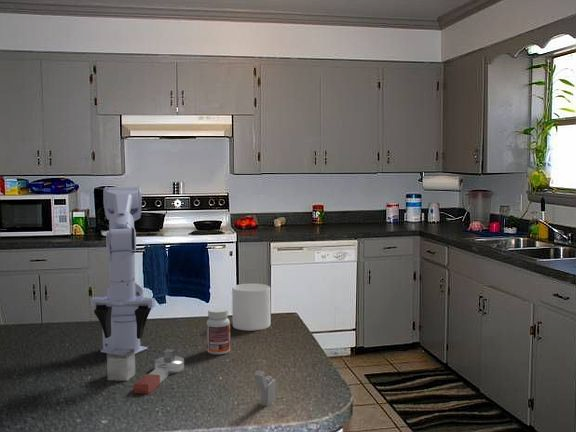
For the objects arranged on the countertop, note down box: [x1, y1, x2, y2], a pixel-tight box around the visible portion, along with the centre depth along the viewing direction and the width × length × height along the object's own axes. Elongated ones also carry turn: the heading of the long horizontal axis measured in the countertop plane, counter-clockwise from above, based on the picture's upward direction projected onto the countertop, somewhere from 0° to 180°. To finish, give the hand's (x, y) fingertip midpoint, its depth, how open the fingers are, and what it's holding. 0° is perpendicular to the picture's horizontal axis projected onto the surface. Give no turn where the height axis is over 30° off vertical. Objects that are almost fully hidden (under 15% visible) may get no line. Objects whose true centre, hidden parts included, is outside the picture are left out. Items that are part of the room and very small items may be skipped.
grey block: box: [106, 348, 136, 382], centre depth 139 cm, size 5×5×6 cm
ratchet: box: [133, 348, 185, 395], centre depth 138 cm, size 19×7×5 cm, turn 168°
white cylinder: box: [231, 283, 272, 332], centre depth 182 cm, size 12×12×12 cm
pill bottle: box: [206, 307, 231, 355], centre depth 157 cm, size 6×6×11 cm
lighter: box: [253, 369, 277, 407], centre depth 122 cm, size 7×2×8 cm, turn 157°
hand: (123, 337), depth 138 cm, fingers open, 7 cm apart
